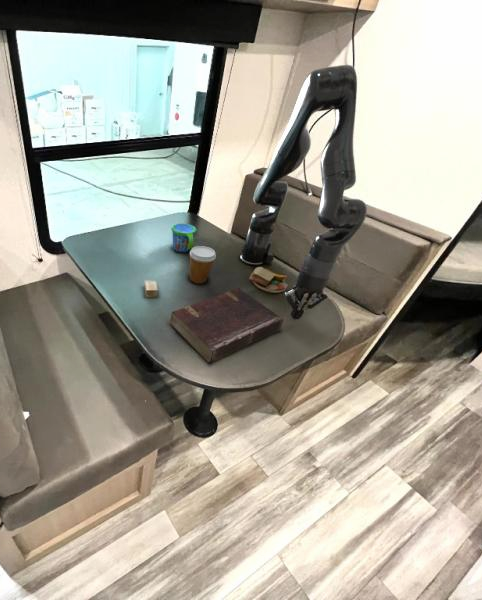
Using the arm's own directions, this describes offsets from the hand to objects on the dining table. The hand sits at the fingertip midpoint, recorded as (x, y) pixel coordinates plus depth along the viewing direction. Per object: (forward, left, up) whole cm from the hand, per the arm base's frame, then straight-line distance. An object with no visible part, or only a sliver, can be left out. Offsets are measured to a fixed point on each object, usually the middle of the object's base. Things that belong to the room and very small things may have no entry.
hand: (294, 317), depth 99 cm
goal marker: (+43, -19, -4) cm, 48 cm away
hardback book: (+22, 0, -4) cm, 22 cm away
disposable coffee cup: (+24, -28, -4) cm, 37 cm away
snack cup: (+26, -53, -4) cm, 59 cm away
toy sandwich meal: (-2, -24, -4) cm, 25 cm away
